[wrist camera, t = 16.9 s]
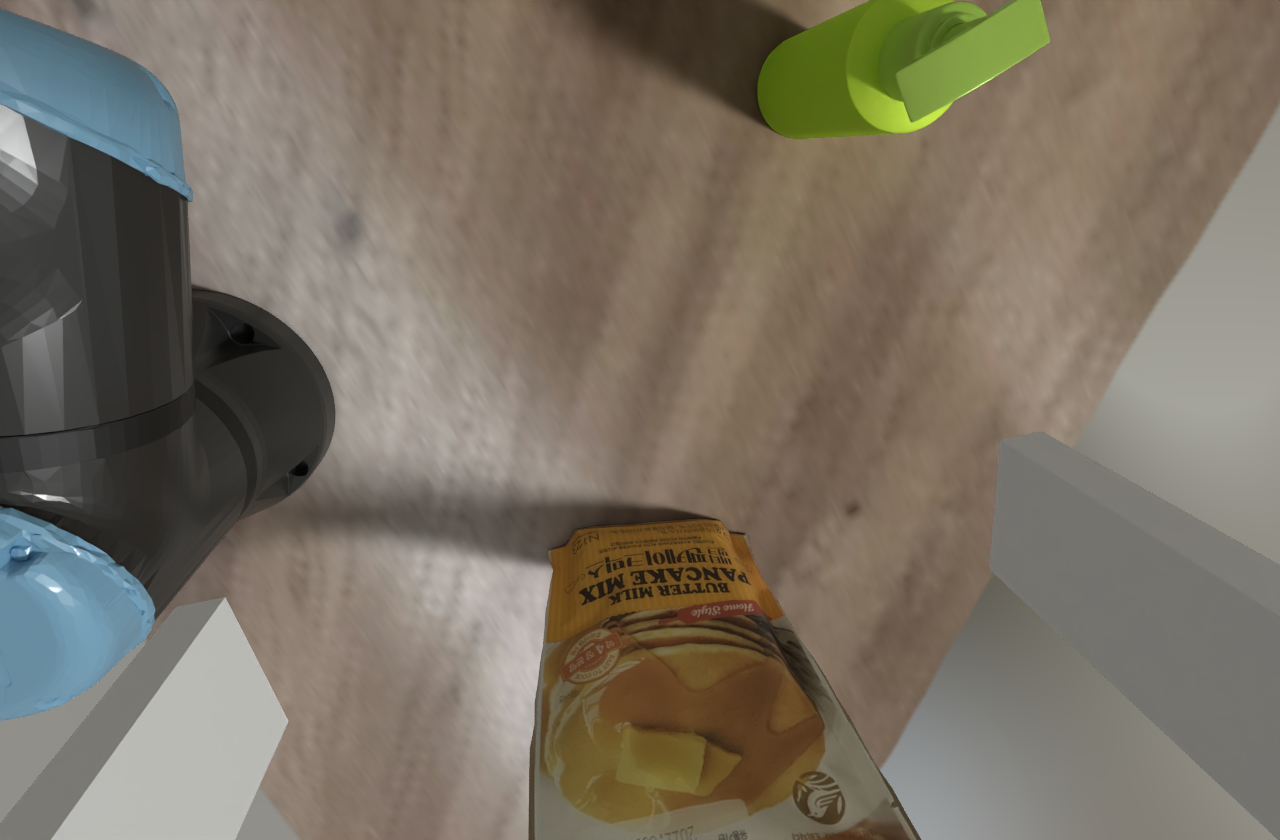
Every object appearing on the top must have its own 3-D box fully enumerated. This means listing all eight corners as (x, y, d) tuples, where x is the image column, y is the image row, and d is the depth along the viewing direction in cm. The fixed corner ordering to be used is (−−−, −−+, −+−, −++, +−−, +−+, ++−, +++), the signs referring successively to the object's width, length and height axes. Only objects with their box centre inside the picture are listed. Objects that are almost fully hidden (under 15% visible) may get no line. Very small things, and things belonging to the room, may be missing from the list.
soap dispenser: (726, 77, 40) (881, 12, 22) (825, 14, 39) (1070, -106, 21) (766, 165, 42) (936, 175, 24) (859, 107, 42) (1107, 72, 23)
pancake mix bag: (759, 577, 55) (945, 947, 29) (534, 596, 53) (524, 1017, 27) (765, 509, 52) (976, 849, 27) (529, 525, 50) (512, 917, 24)
